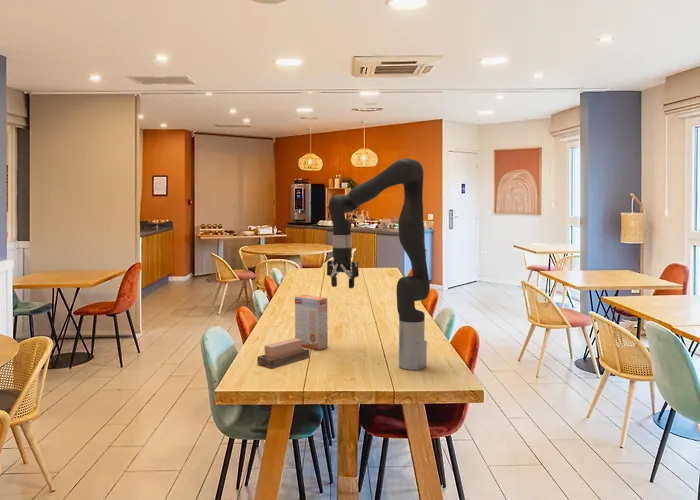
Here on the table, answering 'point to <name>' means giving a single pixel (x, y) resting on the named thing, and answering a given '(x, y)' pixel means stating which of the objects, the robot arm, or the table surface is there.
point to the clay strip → (283, 348)
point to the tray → (283, 359)
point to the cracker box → (311, 321)
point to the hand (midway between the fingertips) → (342, 287)
